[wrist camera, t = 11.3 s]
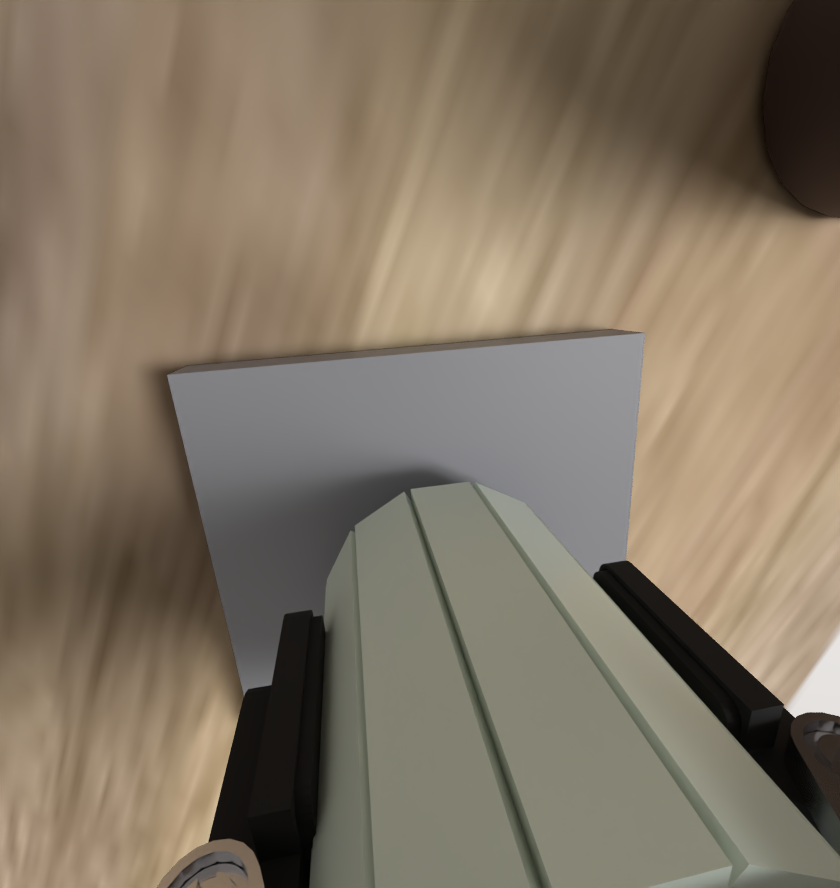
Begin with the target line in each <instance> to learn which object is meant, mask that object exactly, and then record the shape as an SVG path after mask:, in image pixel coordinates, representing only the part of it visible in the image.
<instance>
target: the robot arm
mask: <svg viewBox="0 0 840 888" xmlns="http://www.w3.org/2000/svg"><path fill="white" fill-rule="evenodd" d="M593 579H594V580H595V581H596V582H597V584H598V585H599V586H600V587H601V588H602V589H603V590H604V591H605V593H606V594H607V595H608V596H609V597H610V598H611V599H612V600H613V602H614V603H615V604H616V605H617V606H618V607H619V608H620V609H621V611H622V612H623V613H624V614H625V615H626V616H627V617H628V618H629V620H630V621H631V622H632V623H633V624H634V625H635V626H636V627H637V629H638V630H639V631H640V632H641V633H642V634H643V635H644V636H645V638H646V639H647V640H648V641H649V642H650V643H651V644H652V645H653V647H654V648H655V649H656V650H657V651H658V652H659V653H660V654H661V656H662V657H663V658H664V659H665V660H666V661H667V662H668V663H669V665H670V666H671V667H672V668H673V669H674V670H675V671H676V672H677V674H678V675H679V676H680V677H681V678H682V679H683V680H684V681H685V683H686V684H687V685H688V686H689V687H690V688H691V689H692V690H693V692H694V693H695V694H696V695H697V696H698V697H699V698H700V699H701V701H702V702H703V703H704V704H705V705H706V706H707V707H708V708H709V710H710V711H711V712H712V713H713V714H714V715H715V716H716V717H717V719H718V720H719V721H720V722H721V723H722V724H723V725H724V726H725V728H726V729H727V730H728V731H729V732H730V733H731V734H732V735H733V737H734V738H735V739H736V740H737V741H738V742H739V743H740V744H741V746H742V747H743V748H744V749H745V750H746V751H747V752H748V753H749V755H750V756H751V757H752V758H753V759H754V760H755V761H756V762H757V764H758V765H759V766H760V767H761V768H762V769H763V770H764V771H765V773H766V774H767V775H768V776H769V777H770V778H771V779H772V780H773V782H774V783H775V784H776V785H777V786H778V787H779V788H780V789H781V791H782V792H783V793H784V794H785V795H786V796H787V797H788V798H789V800H790V801H791V802H792V803H793V804H794V805H795V806H796V807H797V809H798V810H799V811H800V812H801V813H802V814H803V815H804V816H805V818H806V819H807V820H808V821H809V822H810V823H811V824H812V825H813V827H814V828H815V829H816V830H817V831H818V832H819V833H820V834H821V836H822V837H823V838H824V839H825V840H826V841H827V842H828V844H829V845H830V846H831V847H832V848H833V849H834V850H835V851H836V853H837V854H838V855H839V856H840V717H839V716H835V715H830V714H826V713H805V714H802V715H799V716H797V717H796V718H795V717H793V716H792V715H791V714H790V713H789V712H788V711H787V710H786V709H785V708H784V707H783V706H784V704H783V703H782V702H781V701H780V700H779V699H777V698H776V697H775V696H774V695H773V694H772V693H771V692H770V691H769V690H768V689H767V688H766V687H764V686H763V685H762V684H761V683H760V682H759V681H758V680H757V679H756V678H755V677H754V676H753V675H752V674H750V673H749V672H748V671H747V670H746V669H745V668H744V667H743V666H742V665H741V664H740V663H739V662H737V661H736V660H735V659H734V658H733V657H732V656H731V655H730V654H729V653H728V652H727V651H726V650H725V649H723V648H722V647H721V646H720V645H719V644H718V643H717V642H716V641H715V640H714V639H713V638H712V637H710V636H709V635H708V634H707V633H706V632H705V631H704V630H703V629H702V628H701V627H700V626H699V625H698V624H696V623H695V622H694V621H693V620H692V619H691V618H690V617H689V616H688V615H687V614H686V613H685V612H683V611H682V610H681V609H680V608H679V607H678V606H677V605H676V604H675V603H674V602H673V601H672V600H671V599H669V598H668V597H667V596H666V595H665V594H664V593H663V592H662V591H661V590H660V589H659V588H658V587H656V586H655V585H654V584H653V583H652V582H651V581H650V580H649V579H648V578H647V577H646V576H645V575H644V574H642V573H641V572H640V571H639V570H638V569H637V568H636V567H635V566H634V565H633V564H632V563H630V562H629V561H619V562H612V563H606V564H602V565H601V566H600V568H599V571H597V572H595V573H594V575H593ZM325 635H326V632H325V626H324V620H323V616H322V615H320V616H313V612H312V610H306V611H300V612H293V613H287V614H285V615H284V618H283V623H282V629H281V635H280V640H279V646H278V651H277V657H276V662H275V668H274V673H273V679H272V685H269V686H263V687H257V688H252V689H248V690H247V691H246V693H245V696H244V699H243V702H242V706H241V710H240V715H239V719H238V723H237V727H236V731H235V735H234V739H233V743H232V747H231V752H230V756H229V760H228V764H227V768H226V772H225V776H224V780H223V784H222V788H221V793H220V797H219V801H218V805H217V809H216V813H215V817H214V821H213V825H212V830H211V834H210V838H209V842H208V843H206V844H204V845H202V846H199V847H197V848H195V849H194V850H193V851H191V852H190V853H189V854H187V855H186V856H184V857H183V858H182V859H180V860H179V861H178V862H177V863H176V864H175V865H174V866H173V867H172V869H171V870H170V871H169V872H168V873H167V874H166V875H165V876H164V877H163V879H162V880H161V882H160V883H159V885H158V886H157V888H309V885H310V867H311V848H313V838H314V837H315V835H316V825H317V804H318V783H319V762H320V741H321V720H322V699H323V677H324V656H325Z"/></svg>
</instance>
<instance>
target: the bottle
mask: <svg viewBox="0 0 840 888" xmlns="http://www.w3.org/2000/svg"><path fill="white" fill-rule="evenodd" d="M763 114H764V124H765V134H766V144H767V150H768V152H769V155H770V157H771V159H772V162H773V164H774V167H775V169H776V171H777V174H778V176H779V179H780V181H781V183H782V184H783V185H784V186H785V187H786V188H787V189H788V190H789V191H790V192H791V193H792V194H793V195H794V197H795V198H796V199H797V200H798V201H799V202H800V203H801V204H802V205H803V206H806V207H808V208H811V209H813V210H816V211H818V212H821V213H823V214H826V215H828V216H831V217H838V218H840V0H794V2H793V3H792V5H791V6H790V8H789V9H788V11H787V14H786V16H785V19H784V22H783V24H782V27H781V29H780V32H779V35H778V37H777V40H776V42H775V45H774V48H773V50H772V53H771V55H770V58H769V65H768V72H767V79H766V86H765V93H764V100H763Z"/></svg>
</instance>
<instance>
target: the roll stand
mask: <svg viewBox="0 0 840 888" xmlns="http://www.w3.org/2000/svg"><path fill="white" fill-rule="evenodd" d="M644 340H645V333H641V332H632V331H624V330H616V329H611V330H599V331H588V332H576V333H564V334H553V335H541V336H529V337H518V338H506V339H494V340H482V341H471V342H459V343H447V344H436V345H424V346H412V347H401V348H389V349H377V350H366V351H354V352H342V353H331V354H319V355H307V356H296V357H284V358H272V359H260V360H249V361H237V362H225V363H214V364H202V365H190V366H186V367H184V368H181V369H179V370H177V371H175V372H172V373H170V374H168V375H167V377H168V381H169V385H170V389H171V394H172V398H173V402H174V406H175V410H176V414H177V419H178V423H179V427H180V431H181V435H182V440H183V444H184V448H185V452H186V456H187V460H188V465H189V469H190V473H191V477H192V481H193V485H194V490H195V494H196V498H197V502H198V506H199V511H200V515H201V519H202V523H203V527H204V531H205V536H206V540H207V544H208V548H209V552H210V556H211V561H212V565H213V569H214V573H215V577H216V582H217V586H218V590H219V594H220V598H221V602H222V607H223V611H224V615H225V619H226V623H227V627H228V632H229V636H230V640H231V644H232V648H233V653H234V657H235V661H236V665H237V669H238V673H239V678H240V682H241V686H242V690H243V694H244V696H245V693H246V691H247V690H248V689H252V688H257V687H263V686H269V685H272V679H273V673H274V668H275V662H276V657H277V651H278V646H279V640H280V635H281V629H282V623H283V618H284V615H285V614H287V613H293V612H300V611H306V610H312V612H313V616H320V615H322V616H323V620H324V611H325V593H326V585H327V578H328V576H329V574H330V572H331V570H332V568H333V566H334V564H335V561H336V559H337V557H338V555H339V553H340V551H341V549H342V547H343V545H344V543H345V541H346V539H347V537H348V535H349V533H350V530H351V531H353V532H355V525H356V524H358V523H359V522H361V521H362V520H364V519H365V518H366V517H368V516H369V515H371V514H372V513H374V512H375V511H377V510H378V509H379V508H381V507H382V506H384V505H385V504H387V503H388V502H390V501H391V500H392V499H394V498H395V497H397V496H398V495H400V494H401V493H403V492H405V493H406V495H407V496H408V497H409V499H410V500H411V490H410V489H415V488H423V487H431V486H438V485H446V484H454V483H462V482H470V483H471V485H472V486H474V484H475V483H478V484H481V485H483V486H485V487H488V488H490V489H493V490H495V491H498V492H500V493H502V494H505V495H507V496H510V497H512V498H514V499H517V500H519V501H522V502H524V503H525V504H526V505H527V506H529V507H530V508H531V509H532V510H533V511H534V513H535V514H536V515H537V516H538V517H539V518H540V519H541V520H542V522H543V523H544V524H545V525H546V526H547V527H548V528H549V529H550V531H551V532H552V533H553V534H554V535H555V536H556V537H557V538H558V540H559V541H560V542H561V543H562V544H563V545H564V546H565V547H566V549H567V550H568V551H569V552H570V553H571V554H572V555H573V556H574V558H575V559H576V560H577V561H578V562H579V563H580V564H581V565H582V567H583V568H584V569H585V570H586V571H587V572H588V573H589V575H590V576H591V577H592V578H593V575H594V573H595V572H597V571H599V568H600V566H601V565H602V564H606V563H612V562H619V561H626V552H627V540H628V528H629V516H630V505H631V493H632V481H633V469H634V457H635V446H636V434H637V422H638V410H639V399H640V387H641V375H642V363H643V351H644Z"/></svg>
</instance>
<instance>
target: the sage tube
mask: <svg viewBox="0 0 840 888" xmlns="http://www.w3.org/2000/svg"><path fill="white" fill-rule="evenodd" d="M410 490H411V500H410V499H409V497H408V496H407V495H406V493H405V492H403V493H401V494H400V495H398V496H397V497H395V498H394V499H392V500H391V501H390V502H388V503H387V504H385V505H384V506H382V507H381V508H379V509H378V510H377V511H375V512H374V513H372V514H371V515H369V516H368V517H366V518H365V519H364V520H362V521H361V522H359V523H358V524H356V525H355V532H353V531H351V530H350V533H349V535H348V537H347V539H346V541H345V543H344V545H343V547H342V549H341V551H340V553H339V555H338V557H337V559H336V561H335V564H334V566H333V568H332V570H331V572H330V574H329V576H328V578H327V585H326V593H325V611H324V626H325V632H326V635H325V656H324V677H323V699H322V720H321V741H320V762H319V783H318V804H317V825H316V835H315V837H314V838H313V848H311V867H310V885H309V888H840V856H839V855H838V854H837V853H836V851H835V850H834V849H833V848H832V847H831V846H830V845H829V844H828V842H827V841H826V840H825V839H824V838H823V837H822V836H821V834H820V833H819V832H818V831H817V830H816V829H815V828H814V827H813V825H812V824H811V823H810V822H809V821H808V820H807V819H806V818H805V816H804V815H803V814H802V813H801V812H800V811H799V810H798V809H797V807H796V806H795V805H794V804H793V803H792V802H791V801H790V800H789V798H788V797H787V796H786V795H785V794H784V793H783V792H782V791H781V789H780V788H779V787H778V786H777V785H776V784H775V783H774V782H773V780H772V779H771V778H770V777H769V776H768V775H767V774H766V773H765V771H764V770H763V769H762V768H761V767H760V766H759V765H758V764H757V762H756V761H755V760H754V759H753V758H752V757H751V756H750V755H749V753H748V752H747V751H746V750H745V749H744V748H743V747H742V746H741V744H740V743H739V742H738V741H737V740H736V739H735V738H734V737H733V735H732V734H731V733H730V732H729V731H728V730H727V729H726V728H725V726H724V725H723V724H722V723H721V722H720V721H719V720H718V719H717V717H716V716H715V715H714V714H713V713H712V712H711V711H710V710H709V708H708V707H707V706H706V705H705V704H704V703H703V702H702V701H701V699H700V698H699V697H698V696H697V695H696V694H695V693H694V692H693V690H692V689H691V688H690V687H689V686H688V685H687V684H686V683H685V681H684V680H683V679H682V678H681V677H680V676H679V675H678V674H677V672H676V671H675V670H674V669H673V668H672V667H671V666H670V665H669V663H668V662H667V661H666V660H665V659H664V658H663V657H662V656H661V654H660V653H659V652H658V651H657V650H656V649H655V648H654V647H653V645H652V644H651V643H650V642H649V641H648V640H647V639H646V638H645V636H644V635H643V634H642V633H641V632H640V631H639V630H638V629H637V627H636V626H635V625H634V624H633V623H632V622H631V621H630V620H629V618H628V617H627V616H626V615H625V614H624V613H623V612H622V611H621V609H620V608H619V607H618V606H617V605H616V604H615V603H614V602H613V600H612V599H611V598H610V597H609V596H608V595H607V594H606V593H605V591H604V590H603V589H602V588H601V587H600V586H599V585H598V584H597V582H596V581H595V580H594V579H593V578H592V577H591V576H590V575H589V573H588V572H587V571H586V570H585V569H584V568H583V567H582V565H581V564H580V563H579V562H578V561H577V560H576V559H575V558H574V556H573V555H572V554H571V553H570V552H569V551H568V550H567V549H566V547H565V546H564V545H563V544H562V543H561V542H560V541H559V540H558V538H557V537H556V536H555V535H554V534H553V533H552V532H551V531H550V529H549V528H548V527H547V526H546V525H545V524H544V523H543V522H542V520H541V519H540V518H539V517H538V516H537V515H536V514H535V513H534V511H533V510H532V509H531V508H530V507H529V506H527V505H526V504H525V503H524V502H522V501H519V500H517V499H514V498H512V497H510V496H507V495H505V494H502V493H500V492H498V491H495V490H493V489H490V488H488V487H485V486H483V485H481V484H478V483H475V484H474V486H472V485H471V483H470V482H462V483H454V484H446V485H438V486H431V487H423V488H415V489H410Z"/></svg>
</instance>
